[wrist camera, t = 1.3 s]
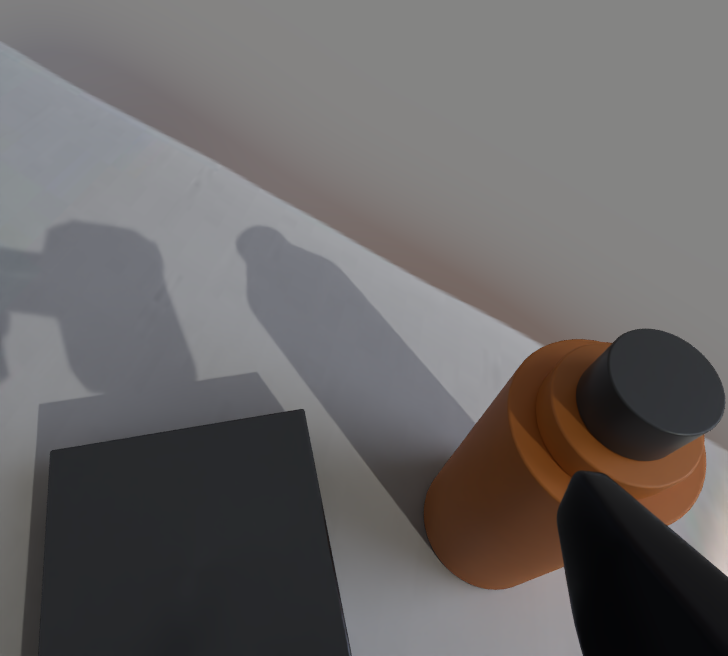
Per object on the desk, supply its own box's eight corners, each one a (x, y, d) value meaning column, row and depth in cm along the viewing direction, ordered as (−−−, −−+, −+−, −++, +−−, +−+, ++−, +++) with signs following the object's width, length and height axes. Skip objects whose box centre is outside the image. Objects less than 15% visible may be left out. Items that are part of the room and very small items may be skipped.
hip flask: (73, 473, 21) (49, 449, 19) (302, 432, 23) (304, 407, 21) (58, 878, 15) (21, 911, 13) (366, 777, 17) (378, 791, 15)
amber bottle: (572, 557, 22) (839, 445, 11) (461, 613, 20) (652, 544, 10) (506, 441, 24) (676, 260, 14) (402, 483, 23) (504, 315, 12)
